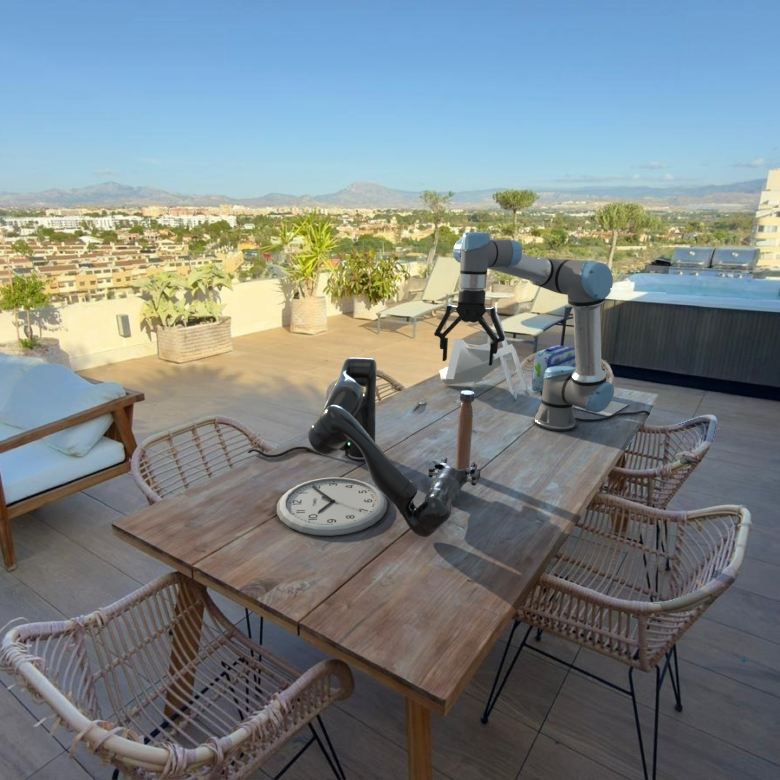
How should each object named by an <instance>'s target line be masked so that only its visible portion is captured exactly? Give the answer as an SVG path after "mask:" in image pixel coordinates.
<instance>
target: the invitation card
mask: <svg viewBox="0 0 780 780" xmlns="http://www.w3.org/2000/svg"><path fill="white" fill-rule="evenodd" d="M628 406H629V404H627V403H623V402H618V401H614V400H611V402H610V403H609V405H608V406H607V407H606V408H605V409H604V410H603V411H601V412H592V411H587V410H586V409H583V408H580V407H577V406H574V407H573V409H575V410H581V411H584V412H587V413H593V414H596V415H600V416H604V417H607V416H610V415H613V414H617V413H619V411H621V410H623V409H624V408H626V407H628Z"/></svg>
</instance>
